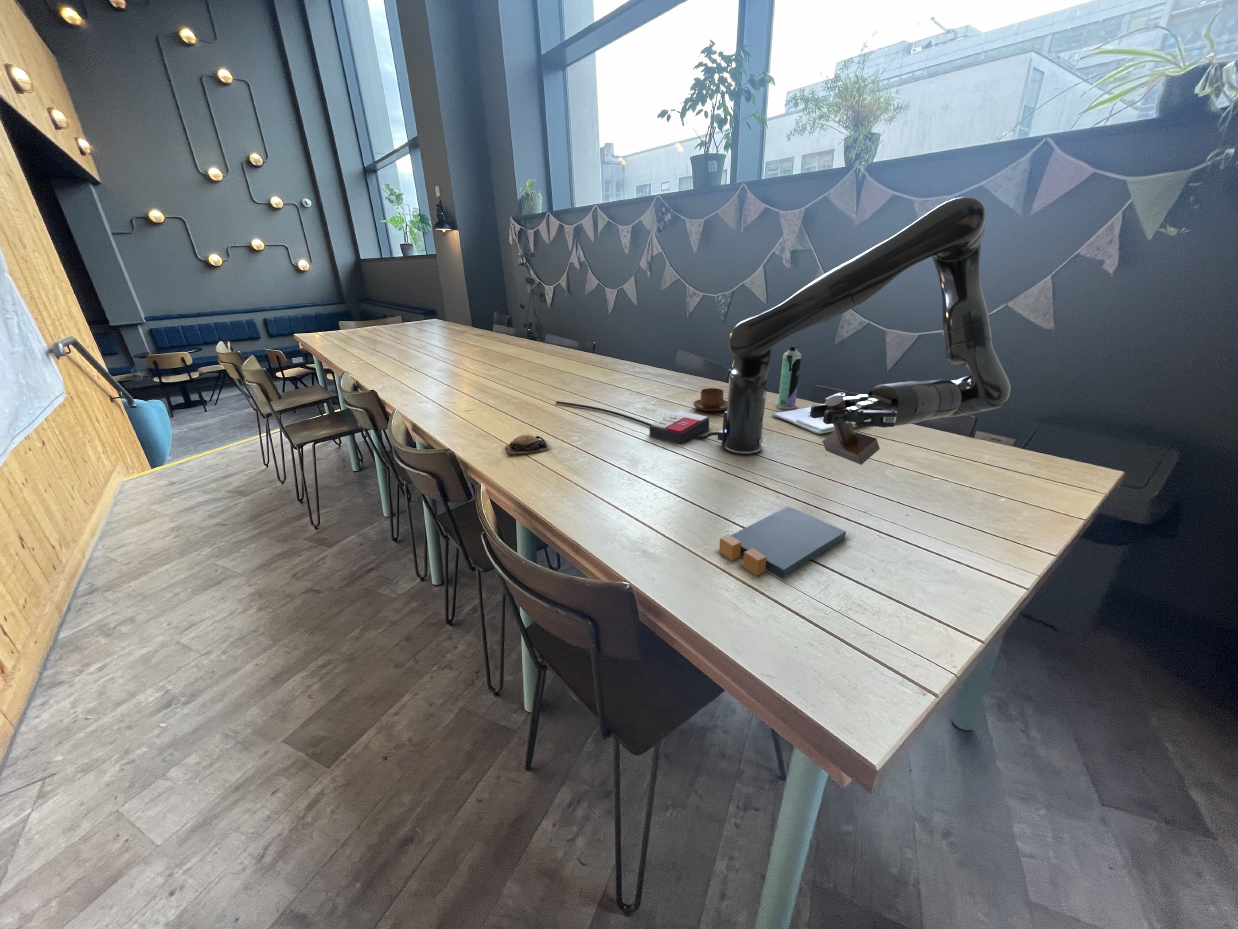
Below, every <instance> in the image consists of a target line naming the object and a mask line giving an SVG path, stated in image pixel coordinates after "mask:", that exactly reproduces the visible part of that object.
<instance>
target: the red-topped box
mask: <svg viewBox="0 0 1238 929" xmlns="http://www.w3.org/2000/svg"><path fill="white" fill-rule="evenodd" d="M651 424H652V425H651V426H649V437H652V438H656V439H659V440H664V441H667V442H672V443H676V444H680V445H681V444H683V443H685V442H687V441H688V440H690V439H693V438H692V437H693V436H698V434H700V433H702V434H703V433H704V432H707V431H709V429H710V417H708V416H706V415H701V414H696V413H691V412H687V411H682V410H678V411H676V412H674V413H672V414H669V415H667V416H665V417H662V419H660V420H658V421H655V422H653V423H651Z"/></svg>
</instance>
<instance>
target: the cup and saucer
mask: <svg viewBox="0 0 1238 929" xmlns="http://www.w3.org/2000/svg"><path fill="white" fill-rule="evenodd" d="M727 404H728V400H725V399H724V390H723V389H720V388H715V387H714V388H713V387H710V388H703V389H701V390H700V399H697V400H695V401H693V406H694V408H696V409H698V410H699V411H703V412H710V413H711V412H713V413H715V412H716V413H717V412H721V411H725V410H727Z"/></svg>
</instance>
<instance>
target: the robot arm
mask: <svg viewBox="0 0 1238 929" xmlns="http://www.w3.org/2000/svg"><path fill="white" fill-rule="evenodd" d="M986 213H987V212H986V207H985V205H984V203H983V202H982V201H981V200H979V199H978V198H976V197H972V196H960V197H956V198H952V199H950V200H947V201H945V202H943V203H941V204H940V205H937V206H936V207H935V208H933V209H932V210H930V211H928V212H927V213H926V214H924V215H923V216H921V217H920V218H919V219H917V220H915V221H914V222H913V223H911V224H910V225H908V226H906V227H905V228H903V229H901V231H899V232H898V233H895V235H893V236H891V237H890V238H888V239H886V240H884V241H882V242H880V243H878V244H877V245H875V246H873V247H871V248H870V249H868V250H866V251H864V252H863V253H861V254H859V255H857V256H855V257H854V258H851V259H850V260H848V261H846V262H844V263H842V264H840V265H839V266H837V267H835V268H833V269H831V270H829V271H828V272H826V273H825V274H822V275H821V276H819V277H818V278H816V279H814V280H813V281H812V282H810V283H808V284H807V285H805V286H804V287H802V288H801V289H800V290H798V291H797V292H795V293H794V294H793V295H791V296H790V297H789V298H787V299H786V300H785V301H783V302H782V303H779V304H778V305H776V306H775V307H772V308H771V309H768V310H765V311H764V312H762V313H760V314H758V315H755V316H749V317H746V318H744V319H743V320H741V321H739V322H738V323H737V324H735V325H734V326H733V328H732V329H731V331H730V333H729V336H728V348H729V350H730V352H731V354H732V355H733V357H732V363H731V368H730V371H729V376H728V390H727V401H728V404H727V409H726V411H724V412H723V418H722V429H720V430H718V431H712V432H708V433H707V434H704V435H695V436H693V437H692V438H691V439H694V440H705V439H707V438H709V437H711V436H717V440H718V441H721V447H723V448H724V449H725V450H726V451H727V452H729V453H732V454H737V455H743V456H744V455H747V456H748V455H754V454H757V453H760V452H761V450H762V443H763V440H764V437H763V429H764V428H763V427H764V419H765V418H764V417H765V406H766V396H767V385H768V378H769V373H770V368H771V360H772V354H773V353H772V352H773V347H775V346H776V345H778V344H780V343H781V342H783V341H785V340H786V339H788V338H790V337H792V336H794V335H796V334H798V333H800V332H802V331H805V330H807V329H811V328H813V327H816V326H817V325H820V324H822V323H825V322H827V321H829V320H832V319H834V318H836V317H838V316H840V315H842V314H844V313H847V312H848V311H850V310H852V309H854V308H856V307H858V306H860V305H863V303H865V302H866V301H868V300H870V299H872V297H873V296H875V295H876V294H877V293H879V292H880V291H882V289H884V288H885V287H886V286H887V285H888V284H889V283H891V282H892V281H893V280H895V278H897V277H898V276H899V275H900V274H903V272H905V271H907V269H910V268H911V267H913V266H915V265H917V264H919V263H921V262H923V261H925V260H928V259H929V258H932V262H933V263H934V267H935V269H936V272H937V273H936V274H937V275H938V279H939V284H940V290H941V300H942V302H941V304H942V306H941V308H942V328H943V329H942V330H943V339H944V347H945V348H944V349H945V355H946V356H945V357H946V359H947V362H948V363H949V365H953V366H968V368H969V370H970V371H971V375H967V376H964V377H960V378H956V379H953V380H949V379H941V378H939V379H929V380H921V381H919V380H910V381H909V380H908V381H901V382H892V383H885V384H878V385H876V386H875V387H872V389H870V391H869V392H868V393H867V394H857V395H855V396H846V393H845V392H842V391H841V392H837V393H835V394H833V395H830V396H828V397H826V398H825V399H824V403H818V404H812V405H811V406H810V407H811V411H810V417H812V418H821V417H824V418H823V422H824V423H825V424H834V423H841V422H844V421H845V423H847V424H851V423H855V425H856V426H857V427H871V428H872V427H875V428H893V427H897V426H905V425H912V424H917V423H921V422H924V421H930V420H935V419H941V418H953V417H961V416H968V415H972V414H977V413H982V412H987V411H991V410H996V409H999V408H1001V407H1003V406H1004V405H1005V404H1006V403H1007V402H1008V400H1009V398H1010V395H1011V389H1012V388H1011V383H1010V379H1009V377H1008V375H1007V373H1006V371H1005V370H1004V367H1003V365H1002V363H1001V361H1000V359H999V357H998V355H997V352H996V351H995V349H994V346H993V345H994V344H993V338H992V336H993V335H992V329H991V322H990V316H989V310H988V306H987V303H986V299H985V294H984V292H983V287H982V282H981V269H980V268H981V266H980V265H981V264H980V263H981V252H982V244H983V242H982V241H983V238H984V236H985V232H986V221H987V214H986ZM836 395H839V396H842V397H843V399H844V402H845V405H846V408H847V410H846V409H844V408H843V409H834V410H828V409H827V406H826V404H825V402H826V400H827V399H828V398H830V397H832V396H836ZM555 403H556V404H557V405H566V406H571V407H578V408H584V409H589V410H594V411H601V412H604V413H608V414H613V415H615V416H619V417H621V418H622V417H623V418H625V419H629V420H631V421H633V422H637V423H640V424H642V425H645V426H647V427H650V426H651V425H652V424H653V423H650V422H648V421H644V420H641V419H638V418H636V417H633V416H630V415H627V414H624V413H620V412H617V411H613V410H609V409H605V408H602V407H596V406H592V405H586V404H579V403H573V402H568V401H567V402H566V401H558V400H556V401H555Z"/></svg>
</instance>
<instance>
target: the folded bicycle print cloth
mask: <svg viewBox="0 0 1238 929" xmlns="http://www.w3.org/2000/svg"><path fill="white" fill-rule="evenodd" d="M811 407H812V406H808V407H804V408H797V409H790V410H786V411H785V410H784V411H777V412H773V413H772V416H773V417H775V418H778V419H781V420H784V421H786V422H789V423H791V424H794V425H795V426H798V427H800V428H802V429H805V430H807V431H810V432H812V433H814V434H818V435H819V434H820V435H822V434H826V433H833V432H834V431H835V428H834V425H833V424H825V423H824V422H823V418H824V417H821V418H812V417H810V411H811ZM852 425H853V428H856V427H858V426H856V425H855V423H852Z"/></svg>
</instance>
